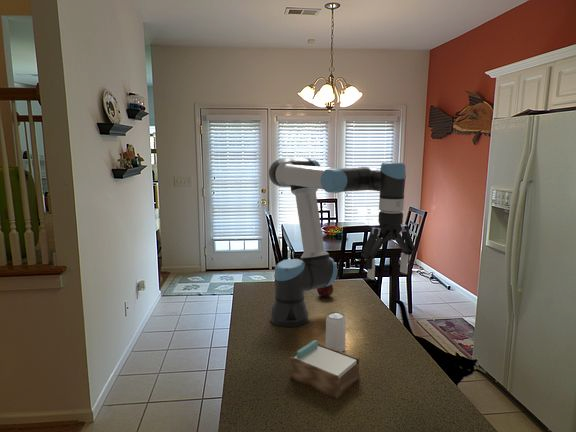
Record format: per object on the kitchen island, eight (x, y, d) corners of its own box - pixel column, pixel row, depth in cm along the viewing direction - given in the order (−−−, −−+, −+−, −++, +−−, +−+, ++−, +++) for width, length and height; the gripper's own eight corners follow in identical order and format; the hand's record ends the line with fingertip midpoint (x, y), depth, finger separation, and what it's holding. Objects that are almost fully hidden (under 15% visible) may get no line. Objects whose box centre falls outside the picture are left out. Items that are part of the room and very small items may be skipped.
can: (346, 346, 134) (347, 312, 132) (342, 355, 127) (343, 320, 126) (328, 343, 136) (328, 310, 134) (323, 351, 130) (324, 317, 128)
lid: (293, 361, 114) (293, 351, 114) (313, 347, 122) (314, 338, 121) (337, 379, 105) (337, 368, 104) (356, 363, 113) (356, 353, 112)
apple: (334, 294, 183) (334, 277, 182) (332, 300, 176) (332, 283, 174) (318, 292, 185) (318, 276, 183) (315, 298, 177) (315, 281, 176)
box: (290, 377, 114) (290, 357, 113) (313, 361, 124) (314, 341, 123) (337, 399, 105) (337, 376, 104) (358, 379, 114) (359, 358, 113)
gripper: (366, 215, 115) (363, 284, 119) (429, 210, 126) (424, 273, 129) (351, 212, 122) (349, 277, 125) (412, 207, 132) (408, 267, 136)
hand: (387, 275), depth 127 cm, fingers open, 13 cm apart
